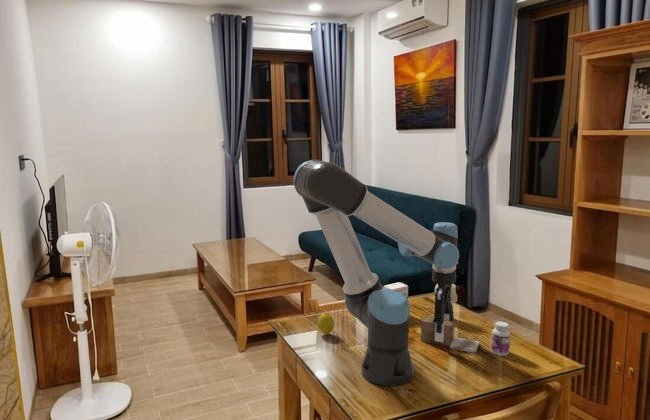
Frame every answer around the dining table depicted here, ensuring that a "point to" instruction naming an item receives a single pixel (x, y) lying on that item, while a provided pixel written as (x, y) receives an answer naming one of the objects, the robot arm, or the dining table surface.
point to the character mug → (453, 298)
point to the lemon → (325, 323)
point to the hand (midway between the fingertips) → (441, 336)
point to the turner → (446, 336)
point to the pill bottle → (501, 339)
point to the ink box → (397, 288)
